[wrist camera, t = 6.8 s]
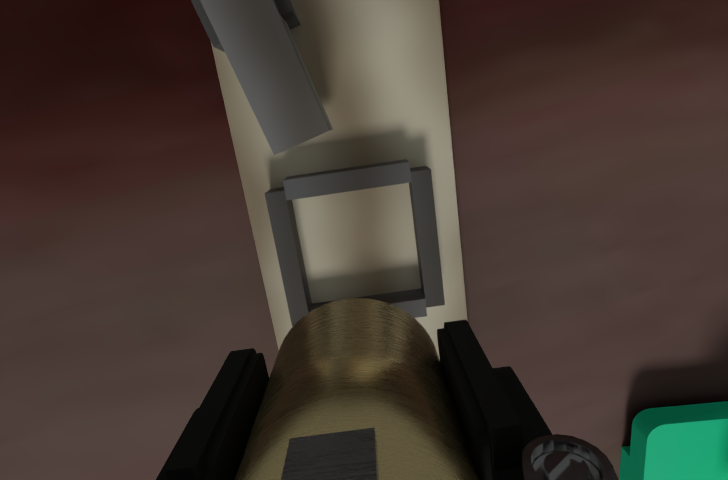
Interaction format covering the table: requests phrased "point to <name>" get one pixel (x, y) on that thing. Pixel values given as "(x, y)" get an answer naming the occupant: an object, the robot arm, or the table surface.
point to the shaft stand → (343, 152)
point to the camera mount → (678, 444)
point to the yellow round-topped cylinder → (357, 402)
